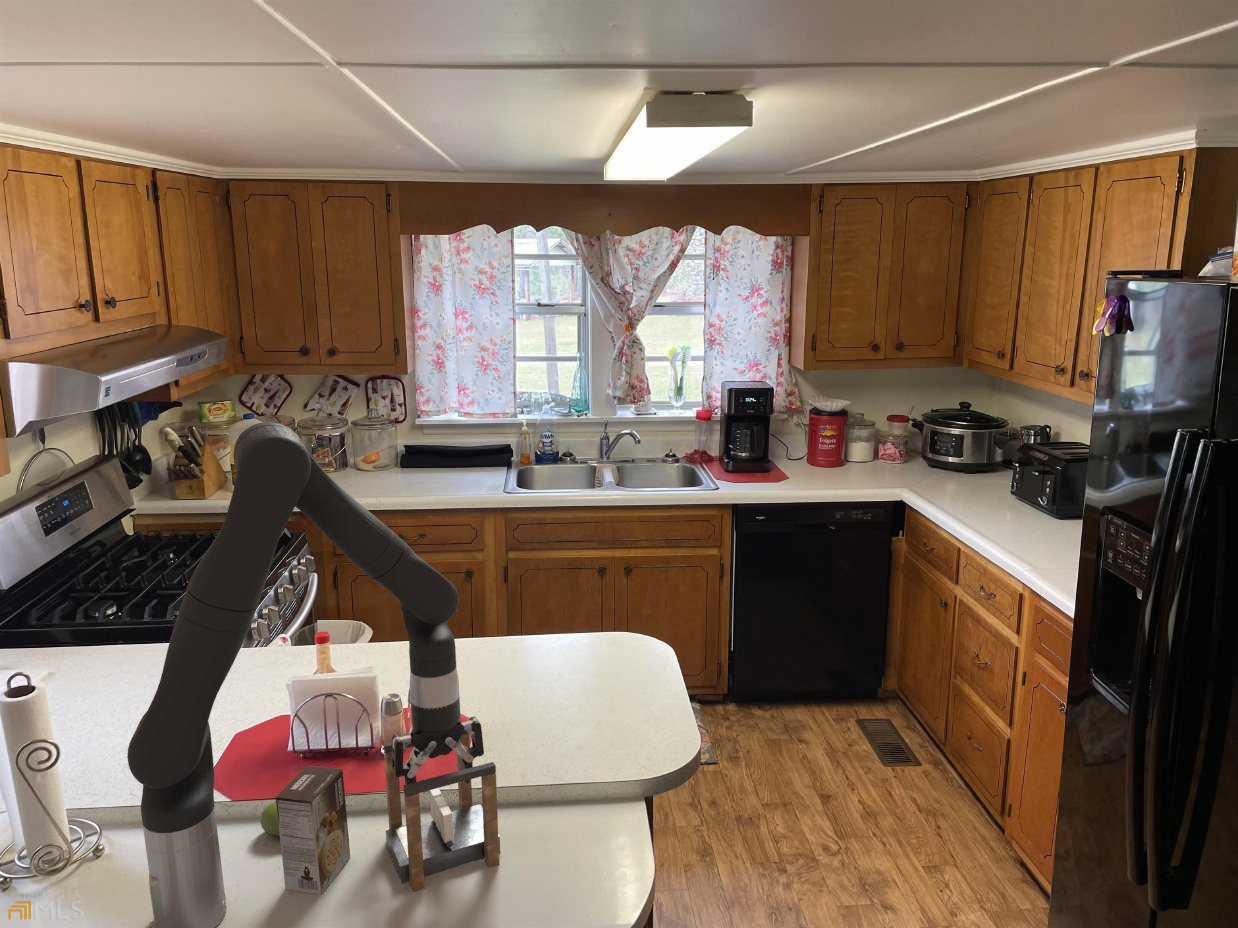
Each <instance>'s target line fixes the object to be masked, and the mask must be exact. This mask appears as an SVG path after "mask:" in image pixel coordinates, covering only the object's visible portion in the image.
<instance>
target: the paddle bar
mask: <svg viewBox="0 0 1238 928" xmlns="http://www.w3.org/2000/svg"><path fill="white" fill-rule="evenodd" d="M442 794H443V793H442V792H441V790H440V788H436V789H432V790H429V805H430V817H431V818H433V820H434V822H435V823H436V826H437V828H438V830H439V832H440V833H441V836H442V838H443V840H444V842H445V843H446V845H447V847H448V848H451V847H452V846H453V842H452V841H453V840H454V837H453V817H452V812H453V811H452V810H451V809H450V806H449V805H448V802H447V801H446V799H445V798H444V796H443V795H442Z"/></svg>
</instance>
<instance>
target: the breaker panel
mask: <svg viewBox="0 0 1238 928" xmlns="http://www.w3.org/2000/svg"><path fill="white" fill-rule="evenodd" d="M451 812H452V817H453V837H454V840H453V841H452V842H453V846H452V847H451V848H448V847H447V845H446V843H445V842H444V840H443V838H442V836H441V833H440V832H439V830H438V828H437V826H436V823H435V822H434V820H433V818H432V817H430V818H426V819H421V835H422V852H423V869H424V877H427V876H430V875H433V874H436V873H440V872H443V871H447V870H451V869H453V868H456V867H460V866H463V865H466V864H470V863H473V862H476V861H479V860H482V859H485V852H484V829H483V805H481V803H479V804H475V805H472V806H471V807H468V808H464V809H461V810H459V809H457V810H454V811H451ZM385 839H386V848H387V851H388V854H389V856H390V858H391V861H392V863H393V866H394V869H395V871H396V873H397V875H398V878H399V881H400V884H404V883H408V882H410V877H409V861H408V845H407V829H406V824H404V825H402V826H400V827H396V828H393V829H386V830H385ZM498 841H499V854H501V836H500V834H498Z"/></svg>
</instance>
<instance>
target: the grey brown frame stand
mask: <svg viewBox="0 0 1238 928" xmlns="http://www.w3.org/2000/svg"><path fill="white" fill-rule="evenodd" d="M459 741H460V742H461V743H462V744H463V745H464V746H465V747H466V748H467V749H469V748H470V747H471V745H470V744H471V743H470V742H471V741H470V734H469V733H467V734H463V735H462V736H461V738H460V739H459ZM383 752H384V751H383ZM383 754H384V756H383V757H384V769H385V770H384V772H385V783H386V786H385V787H386V799H387V800H386V801H387V813H388V814H387V815H388V827H389V829H393V828H396V827H400V826H403V816H402V812H403V811H402V802H401V798H402V797H401V784H400V777H396V775H395V773H394V771H393V769H392V752H389V753H385V752H384V753H383ZM461 758H462V757H461V756H459V755H458V754H457V753H456V765H457V766H456V768H457V770H456V771H460V770H461ZM480 778H481V800H482V801H481V802H482V805H481V806H482V808H483V829H484V852H485V858H484V862H485V864H486V866H487V868H488V869H489V868H492V867H496V866H499V865H500V853H499V841H498V835H499V821H498V820H499V819H498V818H499V816H498V797H497V794H498V793H497V772H496V773H492V774H489V775H485V776H481V777H480ZM457 785H458V786H457V787H458V789H457V790H458V805H459V806H458V807H459V809H458V810H461V809H464V808H468V807H471V806H473V792H472V791H473V790H472V788H473V787H472V779H470V783H467V784H465V783H464V781H462V782H459V783H457ZM403 795H404V796H403V797H404V808H405V809H404V811H405V825H406V829H407V845H408V861H409V877H410V881H409V886H410V888H411V890H412V893H413V892H416V891H420V890H424V889H425V876H424V869H423V852H422V835H421V820H422V819H421V805H420V793H417V794H414V795H410V796H405V794H404V793H403ZM389 829H388V830H389Z"/></svg>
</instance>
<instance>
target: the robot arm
mask: <svg viewBox="0 0 1238 928" xmlns="http://www.w3.org/2000/svg"><path fill="white" fill-rule="evenodd" d="M233 447H234V448H233V456H232V457H233V463H234V464H233V465H234V468H235V471H236V472H235V473H236V475H235V481H234V485H233V490H232V494H231V498H230V502H229V504H228V509H227V511H226V515H225V518H224V520H223V523H222V525H221V528H220V530H219V532H218V533H217V535H216V537H215V538H214V540H213V541H212V543H211V544H210V546H209V548H208V549H207V550H206V551H205V553H204V555H203V556H202V558H201V559H200V560H199V563H198V564H197V566H196V568H195V569H194V571H193V574H192V575H191V578H190V580H189V582H188V585H187V587H186V590H185V593H184V596H183V598H182V601H181V604H180V607H179V609H178V612H177V616H176V619H175V623H174V626H173V629H172V633H171V636H170V640H169V643H168V648H167V650H166V654H165V659H164V663H163V664H164V665H163V668H162V673H161V675H160V680H159V682H158V686H157V688H156V691H155V693H154V696H153V699H152V701H151V703H150V705H149V707H148V709H147V710H146V711H145V713H144V714H143V715H142V717H141V719H140V721H139V722H138V724H137V726H136V729H135V731H134V733H133V735H132V736H131V739H130V742H129V743H128V748H127V757H126V758H127V764H128V767H129V768H128V769H129V770H130V773H131V774H132V776H133V777H134V779H135V780H136V781H138V783H139V784H141V785H142V795H141V801H140V815H141V822H142V828H143V836H144V845H145V850H146V852H145V853H146V858H147V859H146V860H147V866H148V886H149V893H150V901H151V908H152V917H153V923H154V928H216V927H218V925H219V924H220V923H221V922H222V921H223V919H224V918H225V916H226V913H227V902H226V897H227V896H226V893H225V884H224V875H223V865H222V861H221V859H222V857H221V848H220V842H219V834H218V825H217V817H216V815H217V814H216V806H215V798H214V797H215V792H214V791H215V767H214V764H215V763H214V757H213V756H214V754H213V745H212V733H211V727H210V723H209V719H210V716H211V713H212V709H213V706H214V703H215V701H216V698H217V696H218V694H219V691H220V689H221V688H222V686H223V683H224V682H225V680H226V678H227V676H228V674H229V672H230V670H231V669H232V666H233V665H234V663H235V661H236V659H237V656H238V654H239V652H240V650H241V648H242V646H243V644H244V641H245V639H246V636H247V635H248V632H249V630H250V628H251V625H252V622H253V621H254V617H255V614H256V612H257V609H258V606H259V604H260V600H261V598H262V594H263V592H264V589H265V585H266V583H267V580H268V577H269V574H270V571H271V568H272V567H271V566H272V564H273V559H274V556H275V553H276V550H277V547H278V544H279V541H280V538H281V536H282V534H283V532H284V530H285V528H286V525H287V523H288V521H289V520H290V518H291V516H292V514H293V511H294V509H297V510H299V511H300V512H301V513H302V514H304V516H306V517H307V519H309V521H311V522H312V523H313V524H314V525H315V526H316V527H317V528H318V529H319V530H320V531H321V532H322V533H323V534H324V535H325V536H326V537H327V538H328V540H329V541H330V542H331V543H332V544H333V545H334V546H335V547H336V548H337V549H338V550H339V551H340V552H341V553H342V554H343V555H344V556H345V558H347V559H348V560H349V561H350V562H352V563H353V564H354V565H355V566H357V568H358V569H360V570H361V571H362V572H364V574H366V575H367V576H368V577H370V578H371V579H372V580H373V581H375V582H376V583H378V585H380V586H382V587H384V588H385V589H387V590H388V591H389V592H390V593H391V594H392V595H394V597H396V598H397V600H399V601H400V608H401V613H402V618H403V622H404V628H405V631H406V635H407V638H408V644H409V645H408V646H409V647H408V655H409V668H410V670H409V671H410V673H409V691H408V692H409V693H408V694H409V699H410V700H409V701H410V710H411V711H410V714H411V715H410V716H411V732H410V733H409V735H404V736H400V735H399V734H396V733H395V734H394V735H392V737H391V741H392V769H393V771H394V773H395V775H396V777H399V778H401V777H404V785H406V784H410V783H414V782H417V776H416V774H417V772H418V771H419V769H420V768H421V767H423V765H424V764H425V763H426V761H427V759H428V758H429V760H431V759H435V758H437V757H440V756H448V755H450V753H451V752H452V751H454V752H455V753H456V755H457V754H458V755H459V756H461V757H462V758H461V770H464V769H468V768H471V767H474V765H473V761H474V760H475V759H476V758H477V757H478V758H479V757H482V756H483V755H485V747H484V739H483V731H482V724H481V722H480V721H479V720H478V719H477V717H476V716H471V717H469V718H468V719H469V720H466V721H463V722H462V721H461V719H462V718H461V700H460V699H461V698H460V682H459V681H460V679H459V675H458V674H459V673H458V668H457V656H456V655H457V653H456V641H455V636H454V634H453V633H452V631H451V629H450V627H449V625H448V621H449V620H451V619H452V618H453V617H454V615H456V613H457V611H458V609H459V605H460V597H459V593H458V589H457V588H456V586H455V585H454V583H453V582H452V581H450V580H449V579H448V578H446V577H445V576H444V575H443V574H442V573H440V572H439V571H437V570H436V568H434V567H433V566H432V565H430V564H429V563H428V562H427V561H425V560H424V559H422V558H421V557H420V556H419V555H418V554H417V553H416V552H415V551H414V549H412V547H410V546H409V545H408V543H407V542H406V541H404V540H403V539H402V538H401V537H400V535H398V534H396V533H395V531H393V530H392V529H391V528H389V526H387V525H386V524H385V523H384V522H383V521H381V520H380V519H379V518H378V517H377V516H375V515H374V514H373V513H372V512H370V510H368V508H365V507H364V506H363V504H361V503H360V502H358V501H357V500H356V499H355V498H353V497H352V495H350V494H349V493H348V492H346V490H344V489H343V488H342V487H341V486H340V485H339V484H338V483H337V482H336V481H335V480H334V479H333V478H332V477H331V476H330V475H329V474H328V473H327V472H326V471H325V470H324V468H322V466H321V465H320V463H319V464H318V462H317V461H316V459H315V458H314V457H313V455H311V453H310V452H309V450H308V449H307V447H306V445H305V444H304V442H303V440H302V439H301V437H300V436H299V435H298V434H297V433H296V432H295V431H294V430H293V429H292V428H289V427H288V426H285V425H284V424H282V423H277V422H272V421H270V422H269V421H264V422H257V423H255V424H254V423H253V425H251V426H248V427H247V428H245V430H243V431H242V432H241V433H240V434H239V436H238V437H237V439H236V441H235V444H234V446H233ZM464 730H467V732H468V733H469V736H470V739H471V746H470V748H469V749H467V748H466V747H465V746H464V745H463V744H462V743H461V742H460V741H459V739H460V738H461V736H462V734H463V733H464ZM410 743H412V745H413V746H414V747H412V750H411V751H410V754H409V758H408V759H407V761H406V762H405V763H404V752H406V751H407V749H408V748H407V746H408V745H409V744H410ZM464 783H465V784H467V783H470V780H466V781H464Z"/></svg>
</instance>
